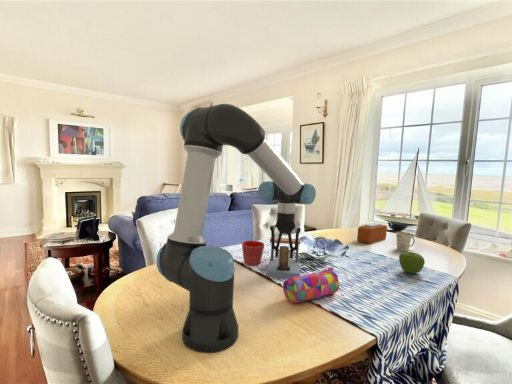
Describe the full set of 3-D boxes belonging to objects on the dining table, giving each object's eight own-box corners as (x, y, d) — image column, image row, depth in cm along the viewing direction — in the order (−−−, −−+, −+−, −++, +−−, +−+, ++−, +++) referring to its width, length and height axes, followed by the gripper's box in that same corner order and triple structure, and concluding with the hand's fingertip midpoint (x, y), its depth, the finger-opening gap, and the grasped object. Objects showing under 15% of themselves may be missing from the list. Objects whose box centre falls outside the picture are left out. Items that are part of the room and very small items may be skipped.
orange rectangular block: (374, 237, 200) (375, 221, 200) (386, 239, 194) (387, 223, 193) (356, 241, 185) (357, 224, 184) (368, 244, 179) (370, 227, 178)
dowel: (287, 276, 121) (288, 248, 120) (278, 275, 122) (279, 248, 121) (287, 272, 125) (289, 246, 124) (278, 271, 126) (279, 245, 125)
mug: (391, 248, 172) (393, 232, 172) (408, 247, 176) (409, 231, 175) (402, 252, 165) (404, 235, 164) (419, 250, 168) (420, 234, 167)
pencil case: (321, 285, 113) (323, 264, 112) (341, 295, 105) (342, 271, 104) (280, 298, 100) (281, 274, 100) (298, 310, 93) (299, 283, 92)
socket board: (299, 279, 118) (301, 248, 117) (266, 276, 120) (267, 246, 119) (298, 266, 134) (300, 239, 133) (269, 263, 136) (270, 237, 135)
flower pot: (267, 265, 133) (268, 245, 133) (245, 267, 129) (246, 247, 128) (258, 258, 143) (259, 240, 142) (238, 260, 139) (239, 241, 138)
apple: (417, 279, 123) (419, 257, 122) (393, 271, 131) (395, 251, 130) (427, 273, 130) (429, 252, 129) (403, 267, 138) (405, 247, 137)
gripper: (305, 211, 124) (302, 263, 126) (267, 209, 126) (265, 260, 128) (306, 214, 116) (303, 269, 118) (265, 212, 119) (263, 266, 121)
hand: (283, 264), depth 123 cm, fingers closed on dowel, 4 cm apart
